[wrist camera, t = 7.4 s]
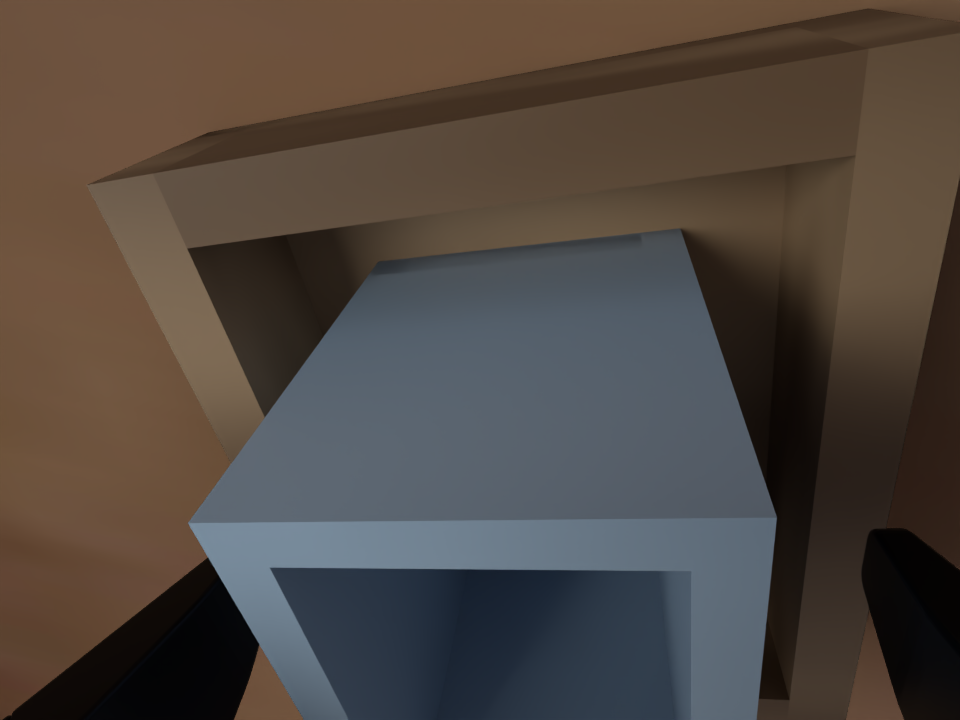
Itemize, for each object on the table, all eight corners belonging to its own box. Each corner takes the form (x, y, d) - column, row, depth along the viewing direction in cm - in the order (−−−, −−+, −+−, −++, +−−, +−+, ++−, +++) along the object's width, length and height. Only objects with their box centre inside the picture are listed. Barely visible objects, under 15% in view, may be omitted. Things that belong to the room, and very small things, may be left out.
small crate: (683, 541, 13) (738, 896, 8) (456, 541, 14) (382, 854, 9) (680, 228, 10) (776, 517, 5) (378, 261, 11) (187, 523, 6)
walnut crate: (798, 597, 14) (842, 732, 12) (392, 593, 16) (356, 705, 14) (868, 8, 8) (990, 27, 6) (208, 132, 10) (86, 184, 8)
